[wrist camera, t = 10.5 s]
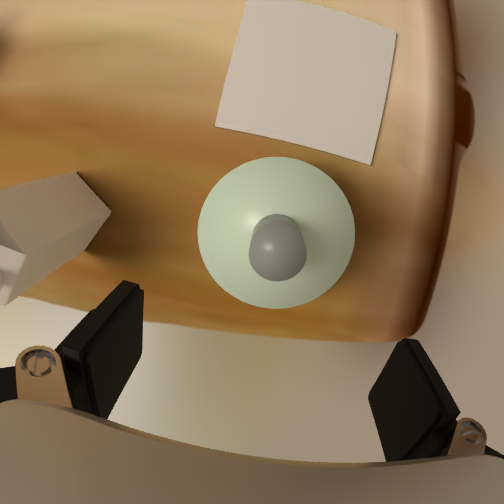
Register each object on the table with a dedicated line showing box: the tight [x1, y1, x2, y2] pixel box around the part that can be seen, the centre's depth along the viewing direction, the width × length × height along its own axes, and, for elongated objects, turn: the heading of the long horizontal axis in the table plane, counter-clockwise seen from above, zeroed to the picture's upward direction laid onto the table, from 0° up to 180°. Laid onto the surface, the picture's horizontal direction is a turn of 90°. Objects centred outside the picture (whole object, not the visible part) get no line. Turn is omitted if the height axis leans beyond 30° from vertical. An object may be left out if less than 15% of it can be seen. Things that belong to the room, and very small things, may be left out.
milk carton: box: [0, 172, 111, 306], centre depth 23 cm, size 7×7×19 cm
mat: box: [215, 0, 397, 165], centre depth 26 cm, size 16×16×1 cm
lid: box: [198, 157, 355, 309], centre depth 23 cm, size 13×13×5 cm
